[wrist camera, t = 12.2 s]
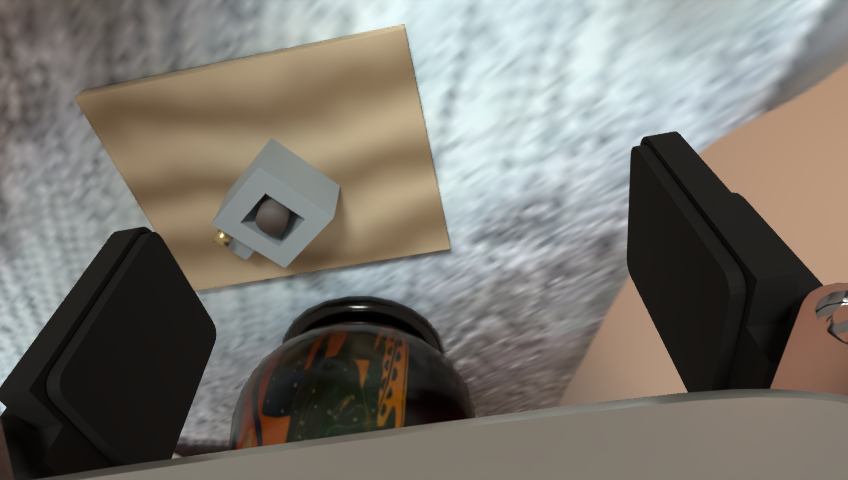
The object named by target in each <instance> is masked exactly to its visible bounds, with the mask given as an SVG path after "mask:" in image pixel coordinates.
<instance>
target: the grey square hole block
mask: <svg viewBox="0 0 848 480" xmlns="http://www.w3.org/2000/svg"><path fill="white" fill-rule="evenodd" d="M339 189H340V185H338V184H337V183H335V182H334V181H333V180H331V179H330V178H328V177H327V176H326V175H324V174H323V173H321V172H320V171H318V170H317V169H316V168H314V167H313V166H311V165H310V164H309V163H307V162H306V161H304V160H303V159H301V158H300V157H299V156H297V155H296V154H294V153H293V152H292V151H290V150H289V149H287V148H286V147H284V146H283V145H282V144H280V143H279V142H277V141H276V140H275V139H273V138H272V137H271V139H270V140H269V141H268V142H267V144H266V145H265V146H264V147H263V149H262V150H261V151H260V152H259V154H258V155H257V156H256V157H255V158H254V160H253V161H252V162H251V163H250V165H249V166H248V167H247V168H246V170H245V171H244V172H243V173H242V175H241V176H240V177H239V178H238V180H237V181H236V182H235V183H234V185H233V186H232V187H231V188H230V189H229V191H228V192H227V194H226V196H225V198H224V200H223V202H222V204H221V206H220V208H219V210H218V212H217V214H216V216H215V218H214V220H213V222H212V225H213V226H215V227H217V228H218V229H220V230H222V231H224V232H225V233H227V234H229V235H230V236H232V239H231V241H230V244H229V246H228V247H226V249H228V250H230V251H231V252H233V253H235V254H236V255H238V256H240V257H242V258H243V259H245V260H247V259H248V258H249V257H250V255H251V254H252V253H253V252H254V251H257V252H259V253H260V254H262V255H264V256H265V257H267V258H269V259H270V260H272V261H274V262H275V263H277V264H279V265H280V266H282V267H284V268H286V267H287V266H288V265H289V264H290V263H291V262H292V261H293V259H294V258H295V257H296V256H297V255H298V254H299V253H300V252H301V251H302V250H303V249H304V248H305V247H306V246H307V245H308V244H309V243H310V242H311V241H312V240H313V239H314V238H315V237H316V236H317V235H318V234H319V233H320V232H321V231H322V230H323V229H324V227H325V226H326V225H327V224H328V223H329V222H330V221H331V220H332V219H333V218H334V215H335V210H336V204H337V199H338V194H339ZM265 193H266V194H267V195H269V196H270V197H272V198H273V199H275V200H276V201H278V202H279V203H281V204H283V205H284V206H286V207H287V208H289V209H290V210H292V212H291V213H290V215H289V218H288V222H287V225H286V228H285V229H284V231H282V232H281V233H279V234H268V233H265V232H263V231H262V230H260V229H259V228H258V226H257V224H256V216H257V213H258V211H259V208H260V206H261V203H262V200H263V198H264V197H263V195H264V194H265Z"/></svg>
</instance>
